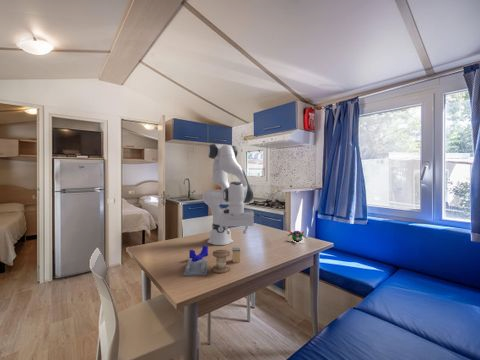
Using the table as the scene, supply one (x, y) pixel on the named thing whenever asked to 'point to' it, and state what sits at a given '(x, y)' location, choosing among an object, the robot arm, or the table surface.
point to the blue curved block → (201, 255)
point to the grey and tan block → (236, 254)
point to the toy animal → (296, 235)
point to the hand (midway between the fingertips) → (236, 233)
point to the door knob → (221, 261)
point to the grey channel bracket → (196, 268)
